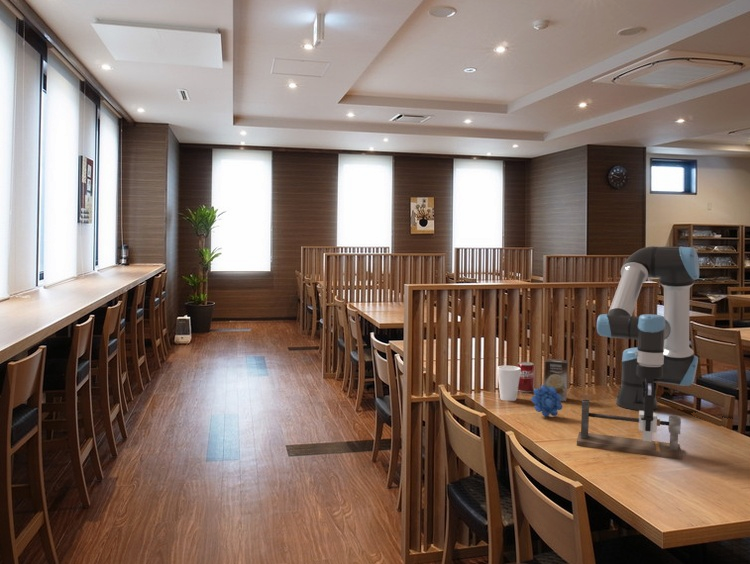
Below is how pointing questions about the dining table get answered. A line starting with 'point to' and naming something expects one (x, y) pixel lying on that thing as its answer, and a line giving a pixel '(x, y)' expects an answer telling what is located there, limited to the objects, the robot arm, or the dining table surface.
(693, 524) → the dining table surface
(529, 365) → the soda can
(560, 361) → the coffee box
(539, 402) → the blue knobbed wheel
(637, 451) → the sliding block rail
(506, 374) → the foam cup
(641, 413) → the sleeve
